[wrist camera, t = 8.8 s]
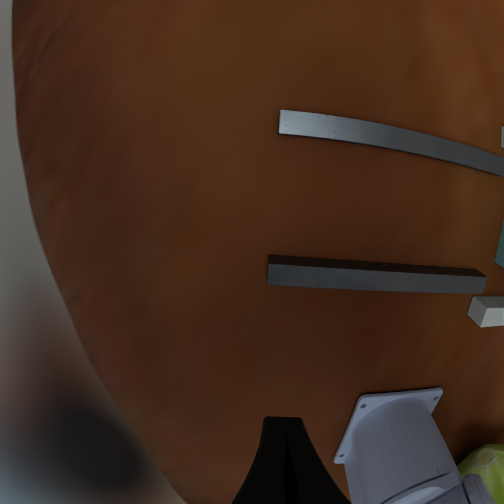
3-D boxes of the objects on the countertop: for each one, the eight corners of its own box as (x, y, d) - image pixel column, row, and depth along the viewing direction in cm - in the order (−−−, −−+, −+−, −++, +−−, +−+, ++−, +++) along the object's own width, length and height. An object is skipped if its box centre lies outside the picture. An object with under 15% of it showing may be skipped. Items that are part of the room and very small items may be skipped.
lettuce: (517, 381, 22) (569, 451, 10) (504, 454, 27) (531, 506, 15) (411, 448, 24) (443, 539, 13) (426, 499, 29) (445, 557, 18)
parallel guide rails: (471, 284, 18) (482, 293, 17) (266, 274, 19) (266, 284, 17) (495, 157, 16) (508, 159, 14) (279, 113, 16) (280, 109, 14)
